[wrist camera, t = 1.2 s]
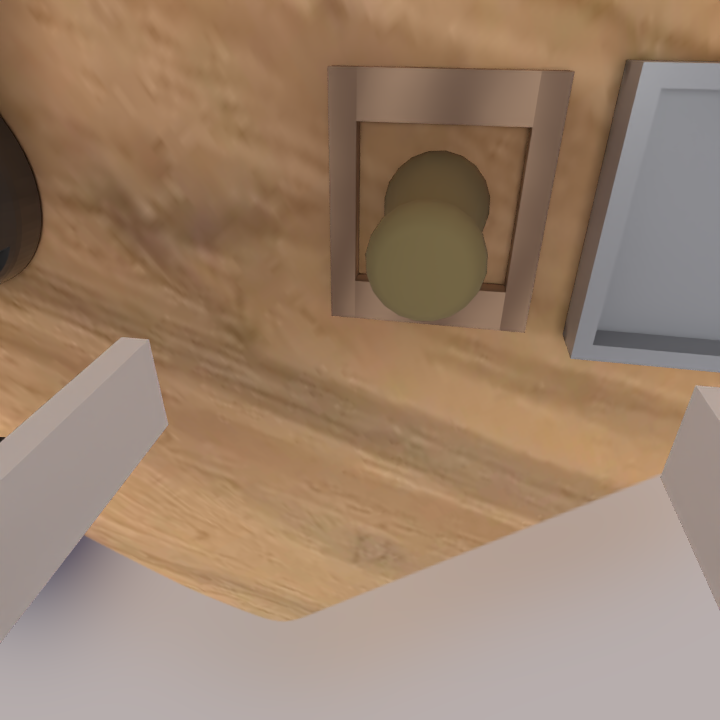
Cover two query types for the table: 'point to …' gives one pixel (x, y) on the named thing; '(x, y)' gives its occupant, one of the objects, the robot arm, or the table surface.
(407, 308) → the olive bulb peg
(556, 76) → the socket block
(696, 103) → the tray
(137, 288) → the table surface
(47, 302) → the table surface
